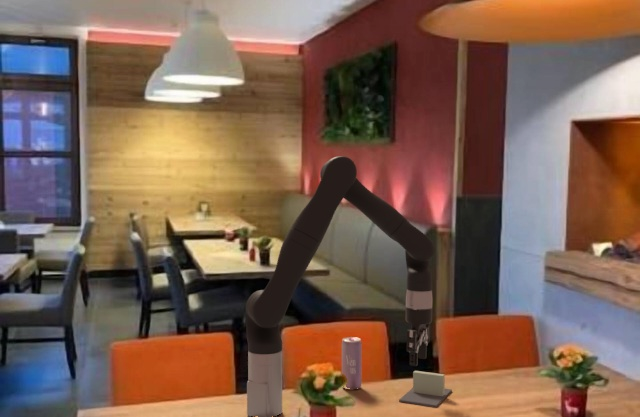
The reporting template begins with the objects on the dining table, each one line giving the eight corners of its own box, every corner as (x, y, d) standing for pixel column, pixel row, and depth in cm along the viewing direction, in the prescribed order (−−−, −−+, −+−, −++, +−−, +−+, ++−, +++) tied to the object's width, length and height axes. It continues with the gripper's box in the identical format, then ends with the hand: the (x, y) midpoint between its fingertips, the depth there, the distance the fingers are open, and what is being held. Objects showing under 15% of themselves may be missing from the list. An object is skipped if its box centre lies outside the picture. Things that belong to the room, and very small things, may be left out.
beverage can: (361, 385, 207) (361, 337, 206) (360, 391, 201) (360, 341, 200) (342, 384, 207) (342, 336, 207) (341, 390, 201) (341, 341, 201)
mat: (436, 407, 186) (436, 405, 186) (399, 401, 191) (399, 399, 191) (451, 391, 200) (451, 389, 200) (416, 386, 205) (416, 384, 205)
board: (442, 396, 194) (442, 376, 194) (413, 392, 198) (413, 372, 198) (444, 394, 195) (444, 374, 195) (415, 390, 199) (415, 370, 199)
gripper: (413, 300, 198) (412, 355, 198) (398, 308, 185) (397, 366, 185) (438, 303, 194) (437, 358, 195) (424, 311, 182) (423, 370, 182)
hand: (417, 362), depth 190 cm, fingers open, 8 cm apart
